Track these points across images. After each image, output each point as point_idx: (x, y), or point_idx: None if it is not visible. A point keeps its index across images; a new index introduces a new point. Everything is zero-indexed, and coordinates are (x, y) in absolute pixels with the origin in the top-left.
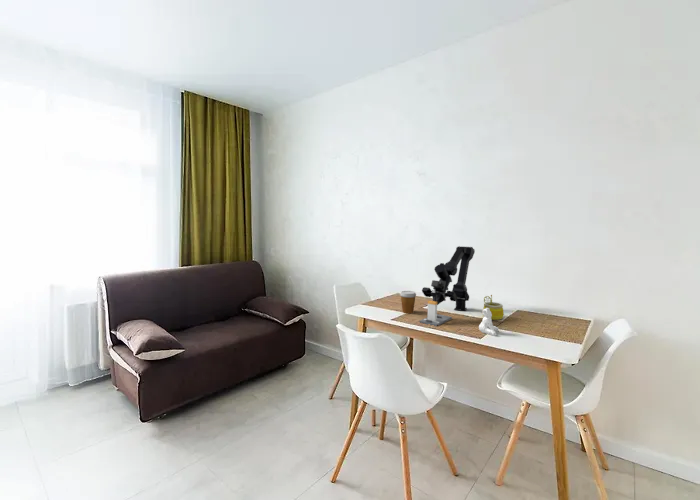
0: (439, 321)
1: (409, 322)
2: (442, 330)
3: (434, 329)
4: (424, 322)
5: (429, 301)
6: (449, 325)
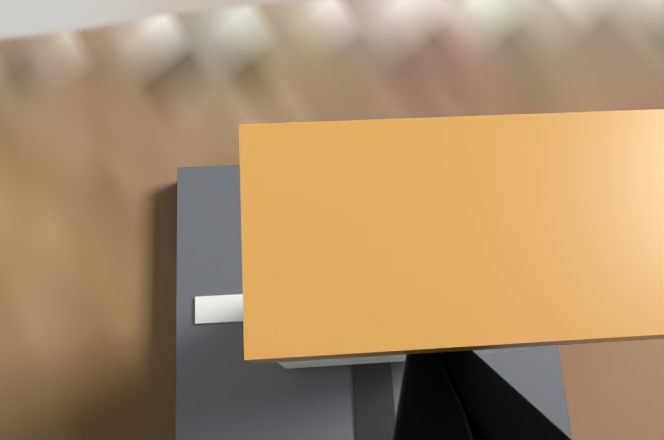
0: (227, 379)
1: (624, 67)
2: (9, 69)
3: (133, 31)
4: None
5: (602, 132)
6: (19, 399)
